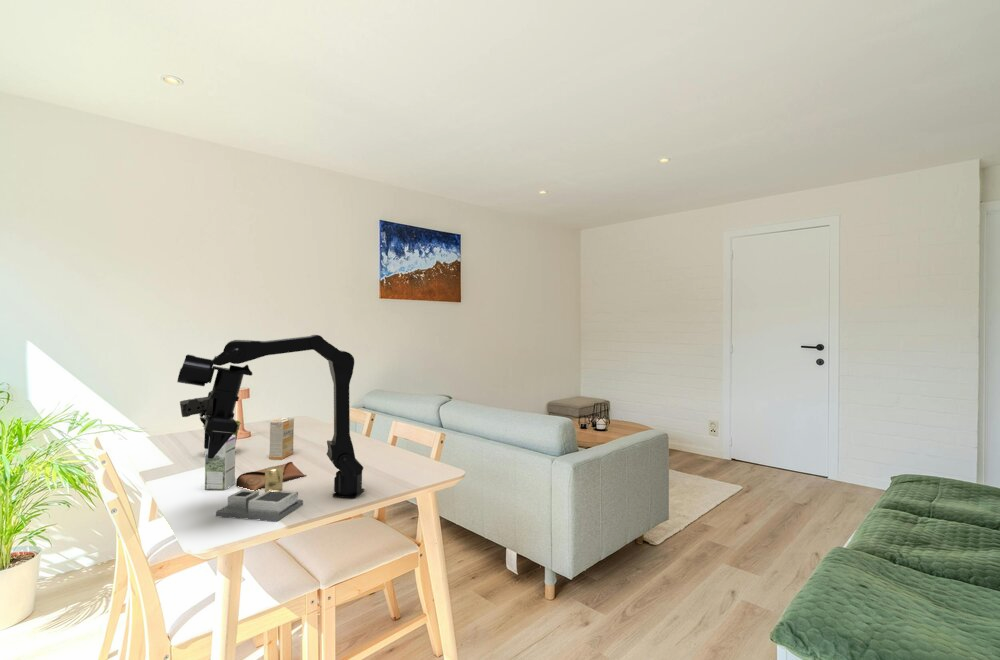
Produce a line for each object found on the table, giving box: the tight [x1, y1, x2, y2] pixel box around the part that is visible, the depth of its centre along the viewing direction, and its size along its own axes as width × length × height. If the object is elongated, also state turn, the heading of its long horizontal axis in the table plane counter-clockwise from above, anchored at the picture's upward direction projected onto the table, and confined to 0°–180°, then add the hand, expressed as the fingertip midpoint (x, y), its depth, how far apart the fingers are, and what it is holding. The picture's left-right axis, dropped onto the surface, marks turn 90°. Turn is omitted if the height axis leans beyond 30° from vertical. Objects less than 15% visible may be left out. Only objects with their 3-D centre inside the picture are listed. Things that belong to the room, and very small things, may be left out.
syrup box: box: [204, 435, 237, 491], centre depth 133 cm, size 6×6×14 cm
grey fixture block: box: [215, 489, 304, 522], centre depth 117 cm, size 16×11×4 cm
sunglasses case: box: [235, 461, 307, 491], centre depth 140 cm, size 18×7×7 cm, turn 149°
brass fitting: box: [264, 465, 284, 493], centre depth 129 cm, size 4×4×7 cm
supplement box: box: [268, 417, 295, 460], centre depth 165 cm, size 8×5×13 cm, turn 178°
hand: (208, 453), depth 113 cm, fingers open, 9 cm apart
